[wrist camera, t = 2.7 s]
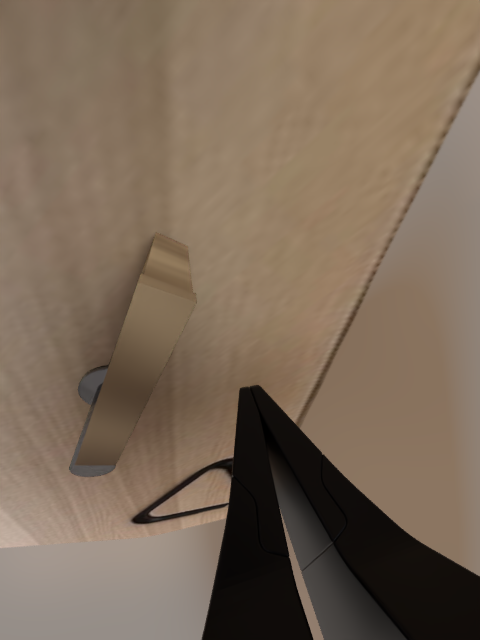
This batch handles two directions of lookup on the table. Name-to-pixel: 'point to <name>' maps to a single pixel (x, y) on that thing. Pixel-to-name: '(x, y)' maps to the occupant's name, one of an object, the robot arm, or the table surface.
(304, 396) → the table surface
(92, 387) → the hinge post
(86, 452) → the tan wooden flat block
